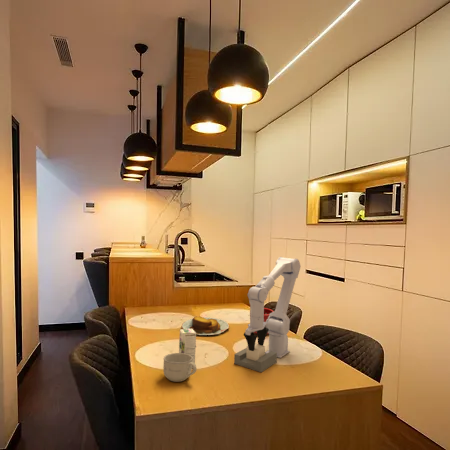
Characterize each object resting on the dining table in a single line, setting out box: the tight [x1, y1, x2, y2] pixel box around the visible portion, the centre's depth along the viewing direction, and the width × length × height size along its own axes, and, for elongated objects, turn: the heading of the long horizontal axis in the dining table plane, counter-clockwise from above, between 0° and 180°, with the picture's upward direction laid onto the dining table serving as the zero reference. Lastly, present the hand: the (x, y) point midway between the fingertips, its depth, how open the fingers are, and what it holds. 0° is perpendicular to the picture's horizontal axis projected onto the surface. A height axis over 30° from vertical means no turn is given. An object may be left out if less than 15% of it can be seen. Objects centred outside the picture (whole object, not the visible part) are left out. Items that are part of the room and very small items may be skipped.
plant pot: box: [253, 307, 275, 336], centre depth 181 cm, size 13×13×12 cm
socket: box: [233, 347, 278, 373], centre depth 141 cm, size 13×13×4 cm
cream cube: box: [246, 343, 266, 361], centre depth 141 cm, size 5×6×6 cm
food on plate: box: [181, 316, 230, 336], centre depth 184 cm, size 26×26×7 cm
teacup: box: [163, 352, 197, 383], centre depth 125 cm, size 14×11×8 cm
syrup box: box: [178, 328, 197, 369], centre depth 136 cm, size 6×6×14 cm
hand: (256, 347), depth 141 cm, fingers open, 7 cm apart
